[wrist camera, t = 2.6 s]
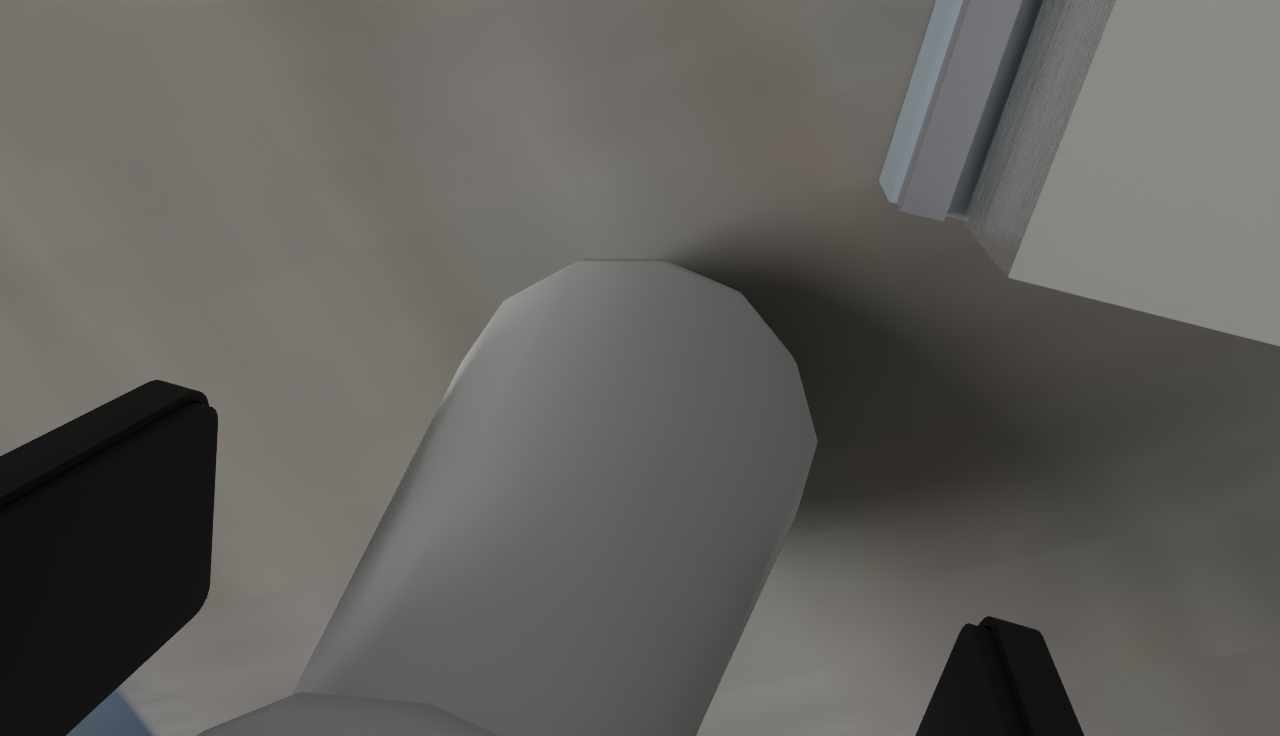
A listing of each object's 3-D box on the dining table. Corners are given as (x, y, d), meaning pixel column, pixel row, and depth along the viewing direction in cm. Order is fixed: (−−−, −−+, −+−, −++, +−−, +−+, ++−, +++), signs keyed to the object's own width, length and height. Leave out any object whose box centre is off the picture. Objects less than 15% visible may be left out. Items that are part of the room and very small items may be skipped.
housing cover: (1111, -189, 10) (1222, -272, 8) (1412, -128, 10) (1640, -189, 7) (963, 223, 12) (1007, 278, 9) (1212, 285, 12) (1334, 360, 9)
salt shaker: (723, 168, 15) (368, 716, 3) (867, 452, 16) (1041, 1652, 4) (446, 315, 17) (-484, 1027, 5) (595, 560, 18) (167, 1610, 6)
